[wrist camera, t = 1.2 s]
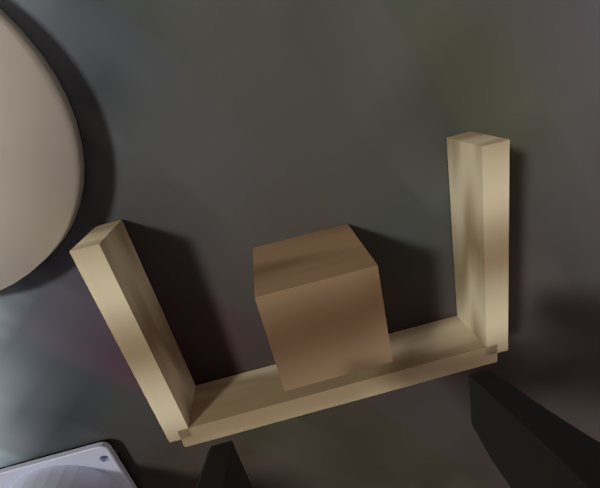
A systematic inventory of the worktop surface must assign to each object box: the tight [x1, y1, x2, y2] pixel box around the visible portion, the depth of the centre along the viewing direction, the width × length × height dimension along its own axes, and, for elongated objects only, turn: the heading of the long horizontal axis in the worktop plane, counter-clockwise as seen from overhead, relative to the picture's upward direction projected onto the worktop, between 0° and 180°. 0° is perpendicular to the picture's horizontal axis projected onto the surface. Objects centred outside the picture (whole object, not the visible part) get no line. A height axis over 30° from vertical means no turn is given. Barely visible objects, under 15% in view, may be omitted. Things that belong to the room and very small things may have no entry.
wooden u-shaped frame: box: [69, 132, 510, 447], centre depth 19 cm, size 12×18×3 cm, turn 103°
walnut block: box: [253, 224, 393, 391], centre depth 18 cm, size 5×5×5 cm
